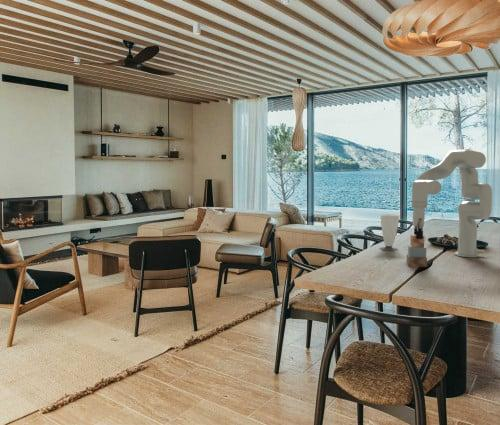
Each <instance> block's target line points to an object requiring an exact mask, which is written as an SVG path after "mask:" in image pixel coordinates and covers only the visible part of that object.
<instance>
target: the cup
mask: <svg viewBox="0 0 500 425" xmlns="http://www.w3.org/2000/svg"><path fill="white" fill-rule="evenodd" d="M399 222H400V215H399V214H395V213H394V214H393V213H382V214H381V213H380V224H381V225H380V226H381V232H382V233H381V234H382V238H383V243H384V246H385V247H384V246H382V247H379V250H381V251H386V252H395V251H399V248H396V247H394V243H395V240H396V236H397V232H398V229H399Z"/></svg>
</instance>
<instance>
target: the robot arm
mask: <svg viewBox="0 0 500 425" xmlns="http://www.w3.org/2000/svg"><path fill="white" fill-rule="evenodd" d="M486 159H487V158H486V156H485V153H483V152H481V151H476V150H471V149H453V150H450V151H448V152H447V153H446V154H445V155H444V156H443V157H442V158H441V160H440V161H439V163H438V164H436V165H435V166H433V167H431V168H429V169H427V170H425V171H423V172H422V173H421V174H419V176H418V177H417V178H416V179H415V181H413V182H412V185H411V186H412V189H411V208H413V211H412V226H413V227H414V228H413V229H414V230H413V231H414V232H413V234H416V239H423V235H424V226H425V214H426V213H425V212H426V209H427V208H428V195H433V196H435V195H438V194H439V193H440V192H441V191H442V184H441V183H440V180H442V179H445V178H448V177H450V175H452V173H453V172H454V171H455V169H456V168H457V169H458V170H459V171H460V173H461V174H460V175H461V196H462V198H464V199H466V200H465V201H462V202H460V203H459V204H458V206H457V213H458V219H459V220H458V222H459V223H458V239H457V241H458V242H457V251H455V252H454V255H455V256H457V257H464V258H478V257H479V256H480V255H479V254H486V250H485V249H479V248H477V240H478V237H477V236H478V223H477V221H476V219H478V220H487V219H489V218H490V217H491V215H492V211H493V210H492V207H493V190H492V187H491V185H490V184H489V183H486V182H479V173H478V170H477V169H480V168H482V167H484V165H485V164H486V161H487V160H486ZM438 180H439V181H438ZM467 199H468V201H467ZM470 200H478V201H470Z"/></svg>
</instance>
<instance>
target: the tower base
mask: <svg viewBox="0 0 500 425" xmlns="http://www.w3.org/2000/svg"><path fill="white" fill-rule="evenodd" d="M406 264H407V266H408V267H416V266H418V267H419V268H427V267H428V265H427V264H428V257H427V256H426V257H410V256H409V255H408V253H406ZM418 267H417V268H418Z"/></svg>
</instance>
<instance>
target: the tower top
mask: <svg viewBox="0 0 500 425" xmlns="http://www.w3.org/2000/svg"><path fill="white" fill-rule="evenodd" d="M407 247H408V249H407V250H408V251H407V252H408V253H407V254H408V255H409V256H410V257H427V247H426V245H424V248H421V247H411V245H410V244H408V246H407Z"/></svg>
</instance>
